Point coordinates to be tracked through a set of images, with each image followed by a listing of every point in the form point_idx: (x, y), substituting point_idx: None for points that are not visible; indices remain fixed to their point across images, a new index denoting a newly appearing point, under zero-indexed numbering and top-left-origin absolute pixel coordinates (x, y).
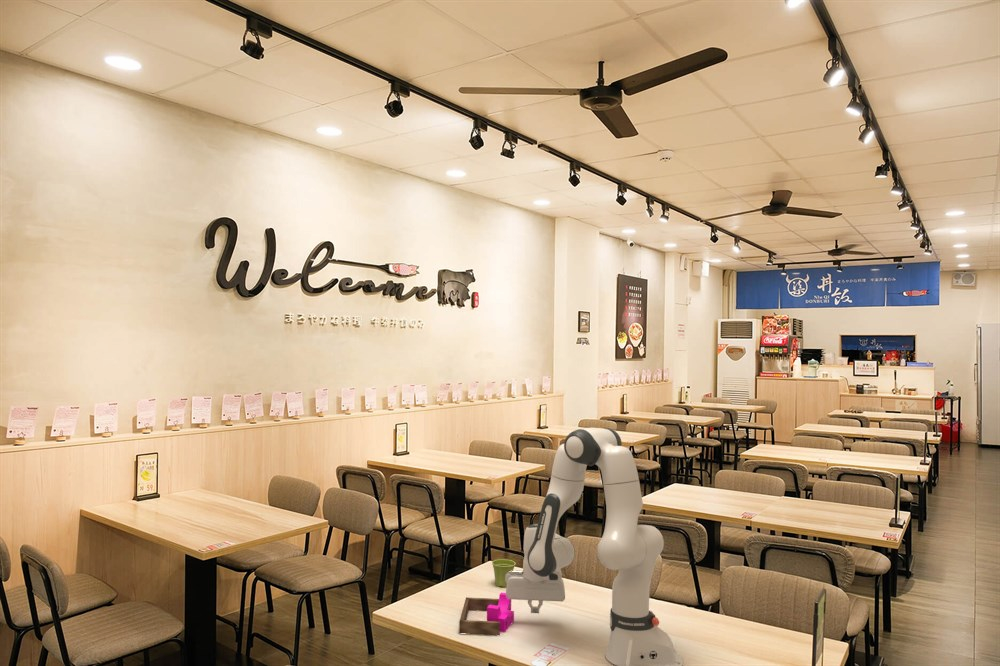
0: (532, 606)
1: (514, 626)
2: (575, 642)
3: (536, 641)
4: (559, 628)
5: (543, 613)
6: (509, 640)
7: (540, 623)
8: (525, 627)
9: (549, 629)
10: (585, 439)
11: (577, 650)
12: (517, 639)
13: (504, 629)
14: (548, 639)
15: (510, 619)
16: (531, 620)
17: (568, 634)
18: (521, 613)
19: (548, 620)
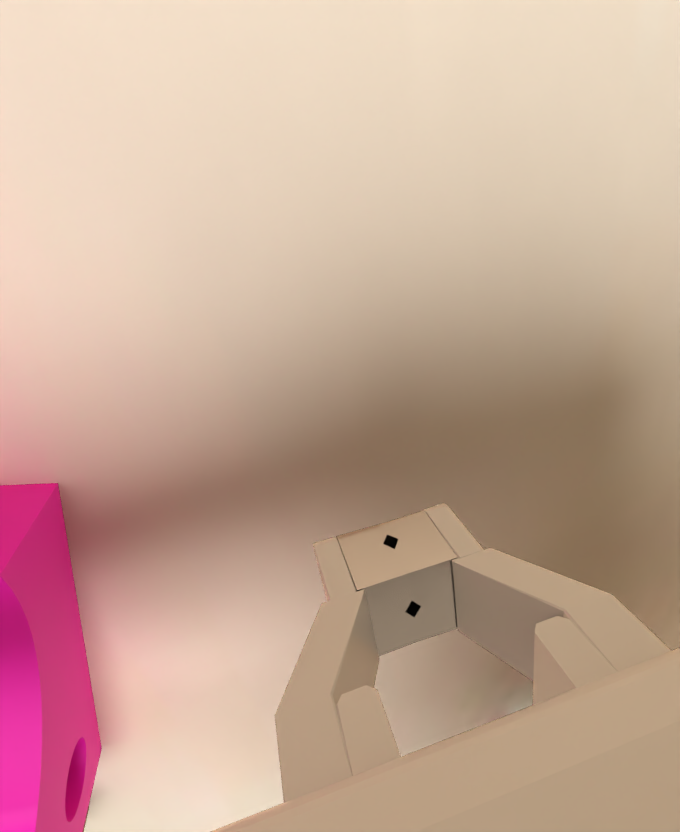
0: (369, 627)
1: (140, 609)
2: (659, 631)
3: (409, 735)
4: (583, 471)
5: (404, 52)
6: (208, 814)
7: (401, 431)
8: (265, 581)
9: (496, 526)
10: None
11: None
12: (264, 777)
13: (93, 780)
14: (490, 675)
15: (55, 659)
16: (282, 388)
17: (638, 546)
18: (37, 161)
19: (484, 314)
